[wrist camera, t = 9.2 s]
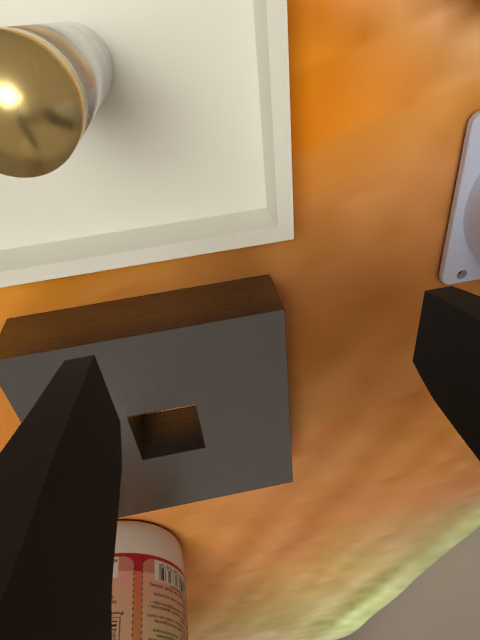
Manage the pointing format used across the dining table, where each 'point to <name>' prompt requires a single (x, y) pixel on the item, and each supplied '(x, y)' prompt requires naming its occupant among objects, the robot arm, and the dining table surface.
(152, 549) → the fruit juice
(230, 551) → the dining table surface
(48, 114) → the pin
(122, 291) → the dining table surface
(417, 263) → the dining table surface
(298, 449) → the dining table surface
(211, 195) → the tray
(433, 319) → the robot arm
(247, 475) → the block
